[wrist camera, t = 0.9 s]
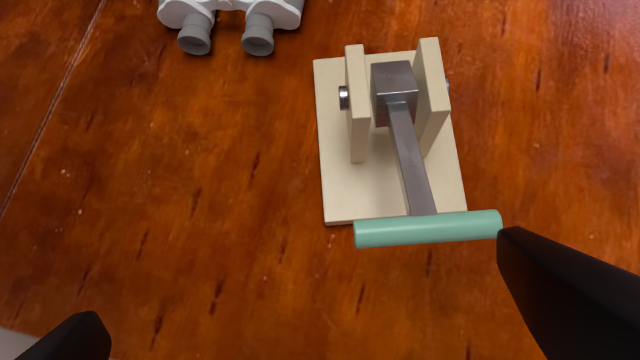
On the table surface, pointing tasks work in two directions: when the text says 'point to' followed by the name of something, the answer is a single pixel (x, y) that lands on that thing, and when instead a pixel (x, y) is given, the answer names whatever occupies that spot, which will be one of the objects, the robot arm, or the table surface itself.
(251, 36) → the binoculars
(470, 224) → the lever
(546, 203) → the table surface
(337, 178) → the toaster bracket
